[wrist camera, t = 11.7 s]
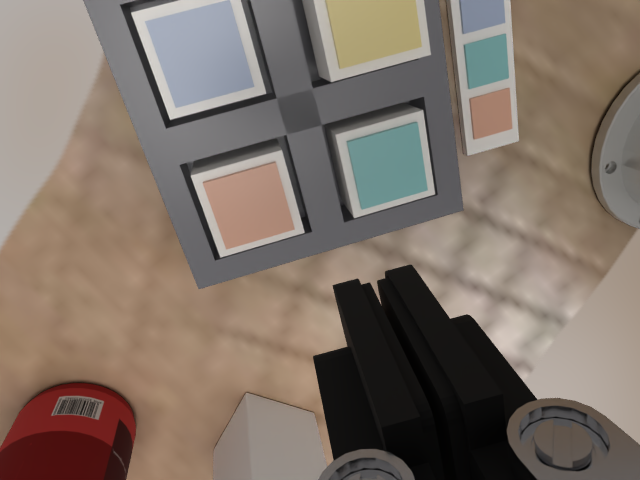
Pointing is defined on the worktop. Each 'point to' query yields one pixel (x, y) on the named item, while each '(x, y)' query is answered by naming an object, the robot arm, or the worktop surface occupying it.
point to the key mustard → (365, 34)
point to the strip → (484, 73)
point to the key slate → (199, 54)
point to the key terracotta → (247, 197)
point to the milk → (269, 443)
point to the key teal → (381, 158)
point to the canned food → (70, 436)
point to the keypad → (280, 132)
